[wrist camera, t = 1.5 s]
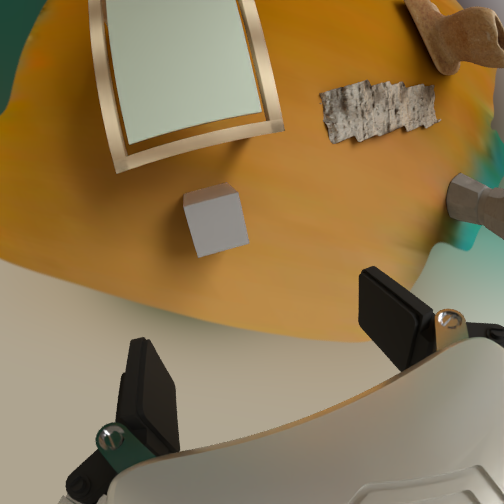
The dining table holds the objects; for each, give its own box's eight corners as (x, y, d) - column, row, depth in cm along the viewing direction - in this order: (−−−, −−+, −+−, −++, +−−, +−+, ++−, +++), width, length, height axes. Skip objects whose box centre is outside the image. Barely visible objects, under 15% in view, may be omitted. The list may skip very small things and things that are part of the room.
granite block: (183, 193, 30) (183, 207, 24) (226, 182, 31) (238, 192, 24) (194, 234, 32) (198, 257, 26) (236, 223, 33) (249, 243, 26)
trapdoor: (106, -27, 11) (99, -44, 8) (217, -51, 12) (223, -69, 10) (131, 144, 18) (123, 144, 16) (258, 112, 20) (270, 108, 17)
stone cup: (462, 71, 31) (525, 71, 18) (431, 78, 31) (505, 76, 17) (431, 1, 25) (490, -14, 11) (393, -2, 24) (460, -26, 11)
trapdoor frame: (112, 29, 20) (88, -11, 11) (222, 3, 22) (240, -43, 13) (138, 164, 28) (116, 173, 18) (252, 134, 29) (284, 130, 20)
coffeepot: (434, 195, 39) (521, 229, 22) (455, 154, 37) (538, 176, 21) (462, 239, 45) (528, 276, 28) (480, 203, 43) (545, 231, 27)
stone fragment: (306, 96, 30) (336, 167, 34) (316, 93, 27) (347, 170, 32) (427, 63, 30) (445, 117, 35) (439, 61, 28) (457, 118, 32)
